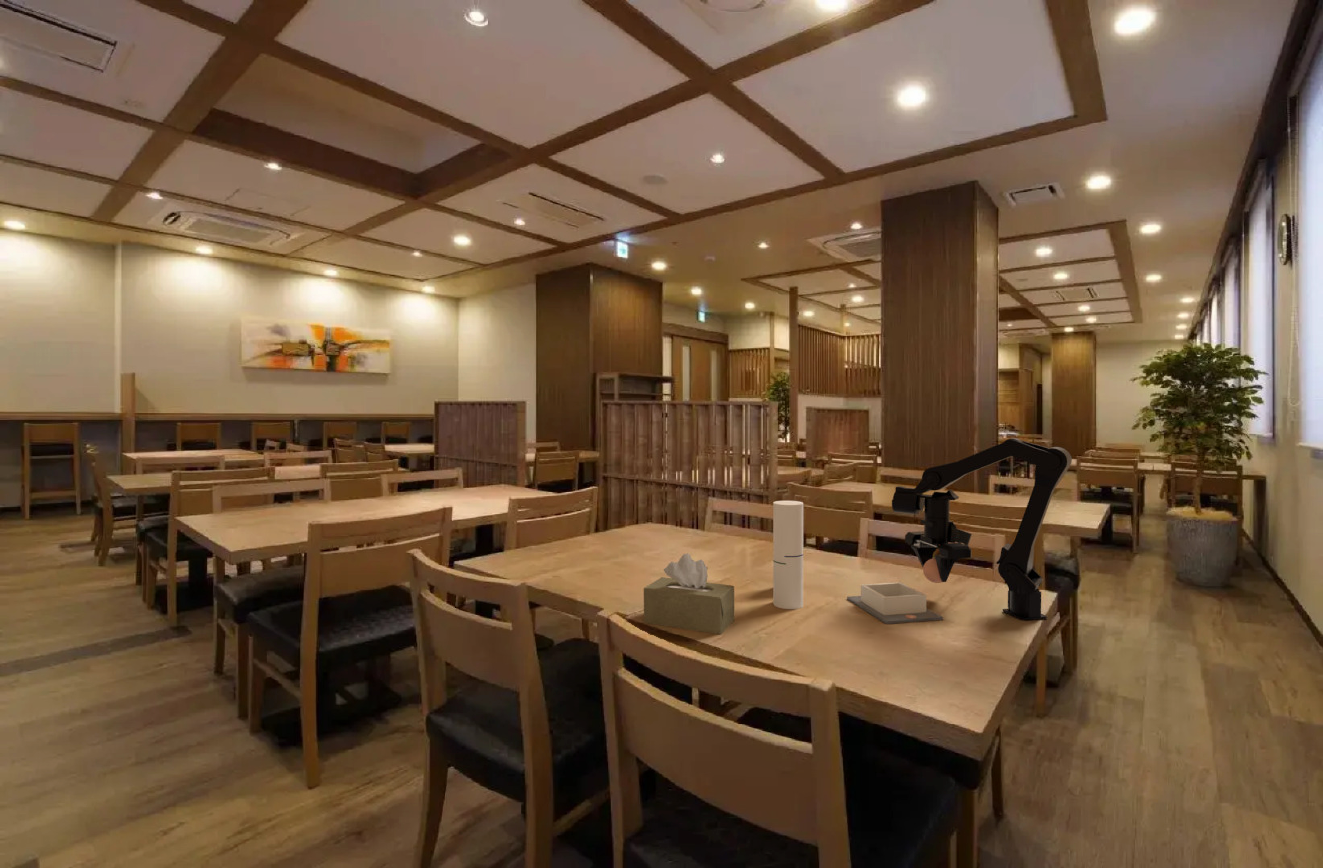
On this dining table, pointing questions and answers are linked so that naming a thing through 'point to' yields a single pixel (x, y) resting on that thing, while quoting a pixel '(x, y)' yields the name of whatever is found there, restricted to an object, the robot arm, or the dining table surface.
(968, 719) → the dining table surface
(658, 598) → the tissue box
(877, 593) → the tray on grey plate
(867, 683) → the dining table surface
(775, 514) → the cylindrical container
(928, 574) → the terracotta ball
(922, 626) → the dining table surface
